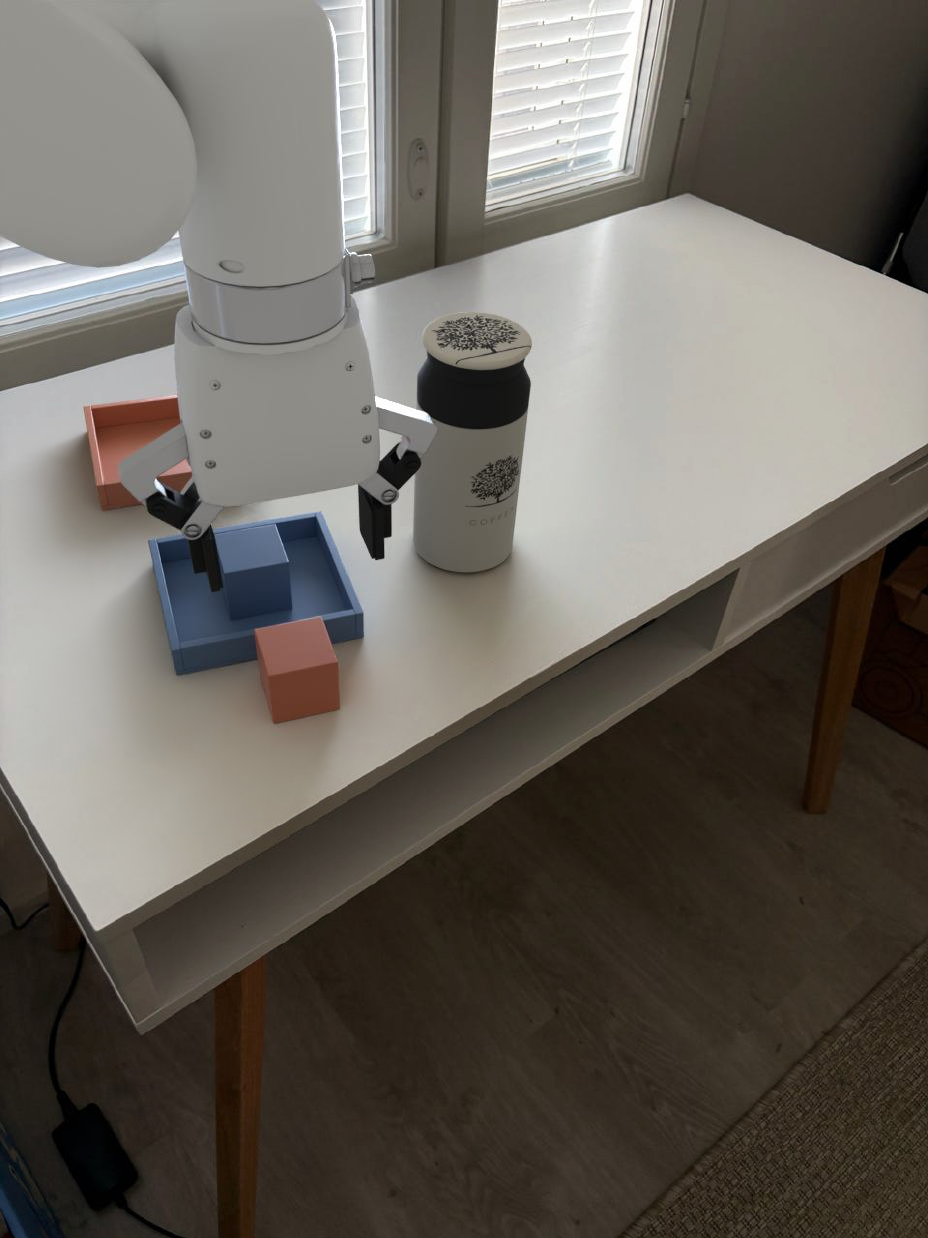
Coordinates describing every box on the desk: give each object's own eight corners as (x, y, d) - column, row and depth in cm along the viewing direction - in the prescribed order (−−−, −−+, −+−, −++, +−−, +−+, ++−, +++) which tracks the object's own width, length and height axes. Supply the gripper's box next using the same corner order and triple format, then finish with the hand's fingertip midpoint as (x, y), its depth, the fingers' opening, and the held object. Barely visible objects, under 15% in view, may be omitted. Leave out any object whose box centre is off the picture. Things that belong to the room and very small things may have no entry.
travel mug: (400, 521, 82) (403, 315, 70) (491, 506, 84) (510, 303, 72) (430, 583, 77) (439, 372, 65) (527, 565, 79) (554, 357, 67)
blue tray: (176, 676, 69) (171, 650, 67) (152, 564, 77) (147, 539, 75) (364, 637, 72) (363, 612, 71) (322, 534, 80) (321, 510, 79)
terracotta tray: (101, 510, 81) (96, 486, 80) (88, 429, 89) (83, 406, 88) (265, 484, 85) (263, 461, 83) (238, 409, 93) (235, 386, 91)
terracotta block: (273, 724, 66) (268, 676, 63) (259, 676, 69) (253, 628, 66) (340, 709, 67) (338, 662, 64) (324, 662, 70) (321, 615, 67)
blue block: (230, 621, 72) (224, 573, 69) (219, 581, 75) (212, 534, 72) (292, 609, 73) (289, 562, 70) (279, 570, 76) (275, 523, 73)
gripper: (415, 239, 53) (413, 499, 65) (74, 276, 49) (138, 549, 61) (463, 303, 48) (451, 572, 60) (87, 350, 44) (154, 633, 55)
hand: (294, 560), depth 60 cm, fingers open, 9 cm apart
